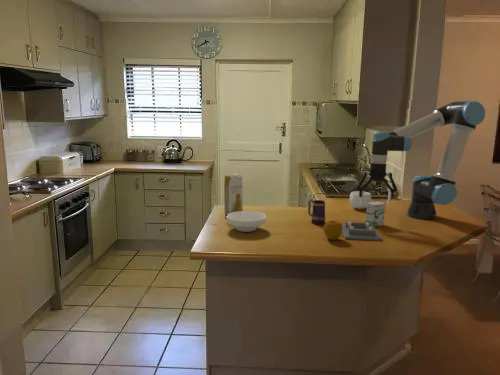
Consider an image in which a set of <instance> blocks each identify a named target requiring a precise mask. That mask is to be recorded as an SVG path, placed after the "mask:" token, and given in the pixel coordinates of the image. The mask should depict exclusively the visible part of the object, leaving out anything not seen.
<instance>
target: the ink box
mask: <svg viewBox="0 0 500 375" xmlns="http://www.w3.org/2000/svg"><path fill="white" fill-rule="evenodd" d="M385 209H386V203H385V202H382V201H378V200H377V201H371V202H368V203H367V208H366V211H365V212H366V213H365V223H371V226H373V227H374V228H375V227H378V226H379V227H380V226H384V224H385V213H386V212H385Z"/></svg>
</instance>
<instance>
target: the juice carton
mask: <svg viewBox="0 0 500 375" xmlns="http://www.w3.org/2000/svg"><path fill="white" fill-rule="evenodd" d="M223 179H224V182H223V184H224V186H223V187H224V188H223V190H224V192H223V193H224V194H223V195H224V198H223V200H224V201H223V202H224V203H223V204H224V209H223V210H224V216H225V215H228V214H229V213H232V212H238V211H244V210H243V207H244V206H243V205H244V204H243V200H244V199H243V198H244V197H243V196H244V195H243V194H244V193H243V191H244V190H243V188H244V185H243V182H244V181H243V175H241V174H238V173H233V174H232V175H224V178H223Z"/></svg>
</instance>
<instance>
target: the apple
mask: <svg viewBox="0 0 500 375" xmlns="http://www.w3.org/2000/svg"><path fill="white" fill-rule="evenodd" d="M323 225H324V226H323V233H324V236H325V237H326V238H327V240H330V241H335V240H338V239H339V238H340V237H341V236H342V234H343V232H342V229H343V227H342V225H343V224H342V223H341V222H340V221H338V220H328V221H325V223H324V224H323Z"/></svg>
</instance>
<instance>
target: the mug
mask: <svg viewBox="0 0 500 375" xmlns="http://www.w3.org/2000/svg"><path fill="white" fill-rule="evenodd" d="M311 202H312V212H311ZM307 205H308V206H307V213H308V215H309V216H310V217H311V223H312V224H313V223H314V224H313V225H318V224H321V225H325V223H326V202H325V201H324V200H321V199H316V200H314V199H312V198H310V199H308V201H307Z"/></svg>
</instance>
